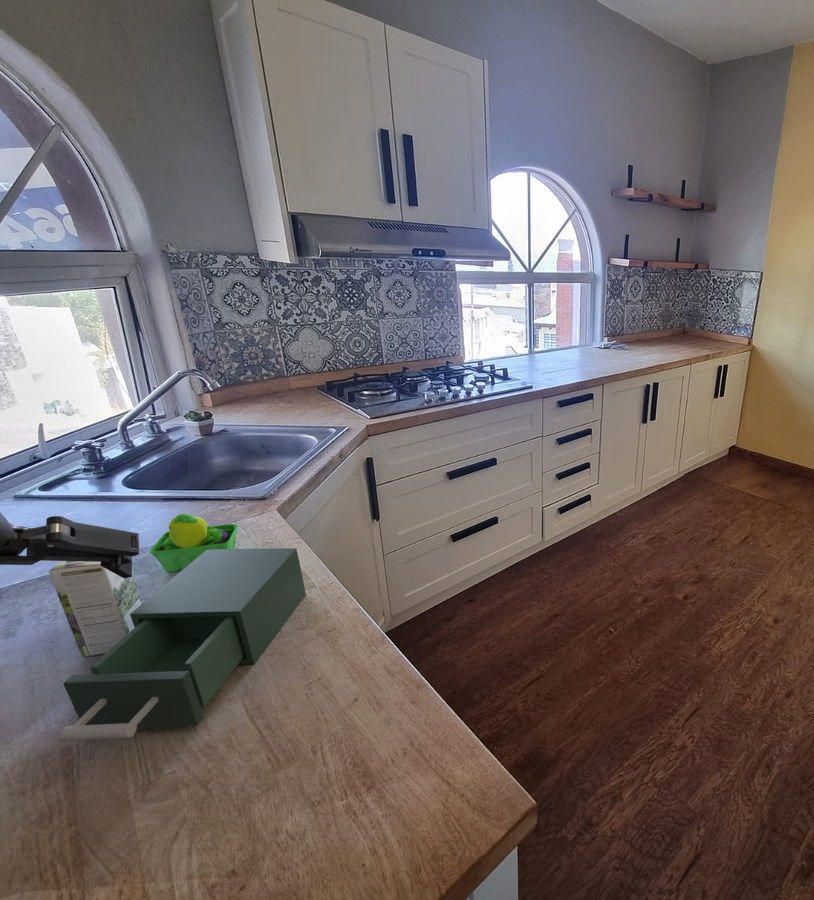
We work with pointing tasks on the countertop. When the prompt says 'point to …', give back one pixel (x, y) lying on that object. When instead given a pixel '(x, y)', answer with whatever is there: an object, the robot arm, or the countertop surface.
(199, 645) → the green drawer
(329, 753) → the countertop surface
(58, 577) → the syrup box
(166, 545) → the fruit basket
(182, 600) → the green drawer cabinet
